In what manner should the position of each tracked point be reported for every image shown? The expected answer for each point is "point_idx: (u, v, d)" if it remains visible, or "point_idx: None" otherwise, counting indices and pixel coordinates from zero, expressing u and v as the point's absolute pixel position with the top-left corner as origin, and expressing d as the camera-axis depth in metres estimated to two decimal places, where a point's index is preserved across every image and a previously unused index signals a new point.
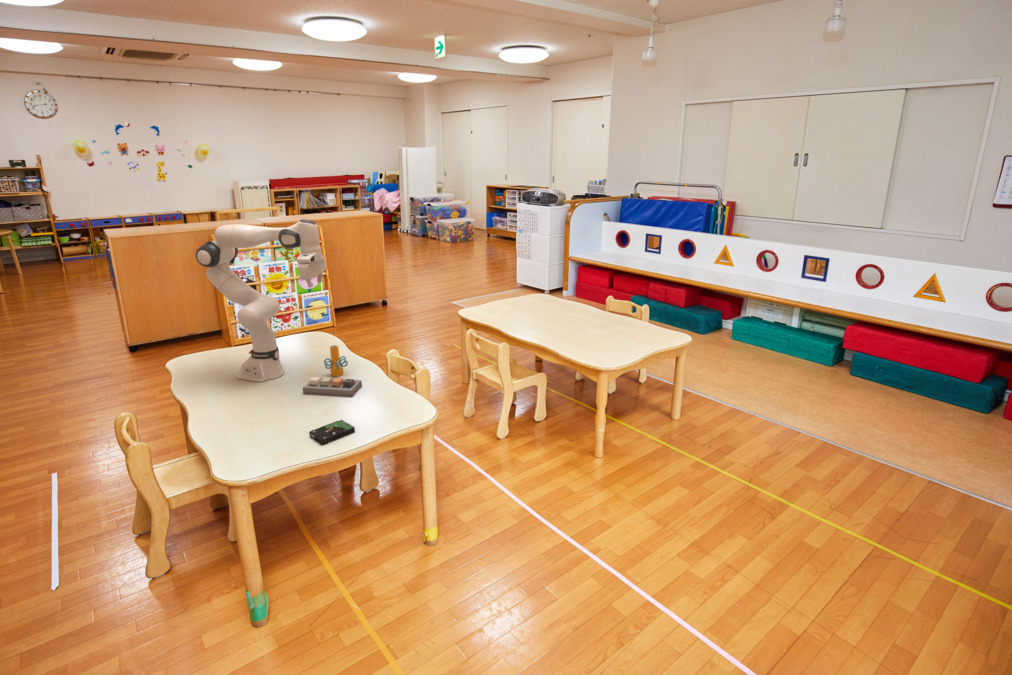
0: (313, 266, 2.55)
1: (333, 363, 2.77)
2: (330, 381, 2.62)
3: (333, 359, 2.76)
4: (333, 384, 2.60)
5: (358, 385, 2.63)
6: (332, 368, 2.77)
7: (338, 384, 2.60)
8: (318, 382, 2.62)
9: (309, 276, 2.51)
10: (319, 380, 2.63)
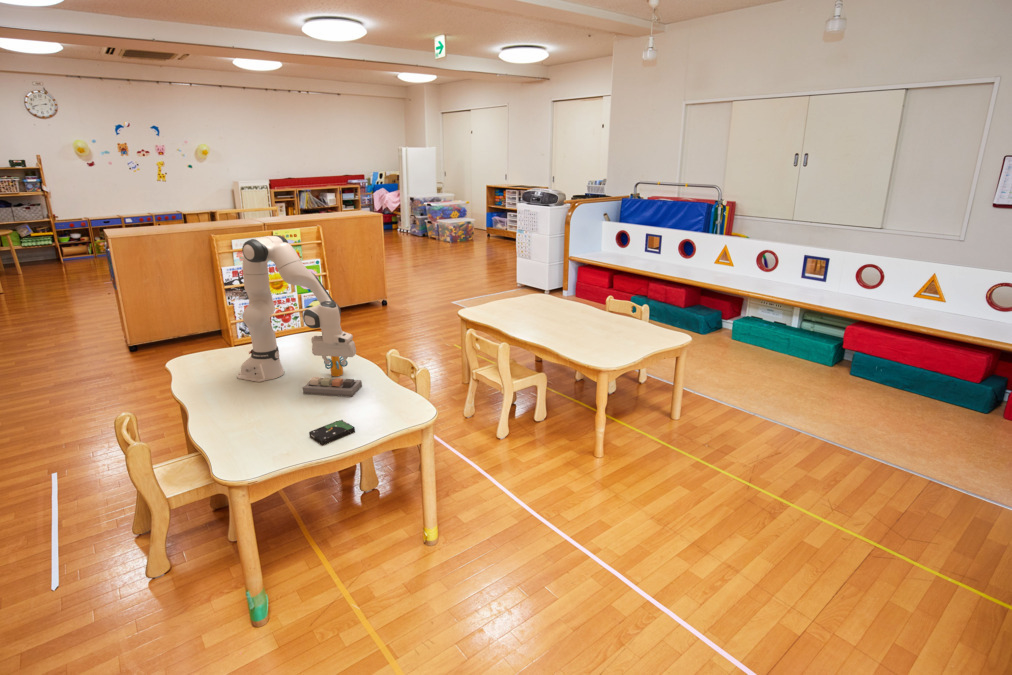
0: None
1: (333, 363, 2.77)
2: (330, 381, 2.62)
3: (333, 359, 2.76)
4: (333, 384, 2.60)
5: (358, 385, 2.63)
6: (332, 368, 2.77)
7: (338, 384, 2.60)
8: (318, 382, 2.62)
9: None
10: (319, 380, 2.63)
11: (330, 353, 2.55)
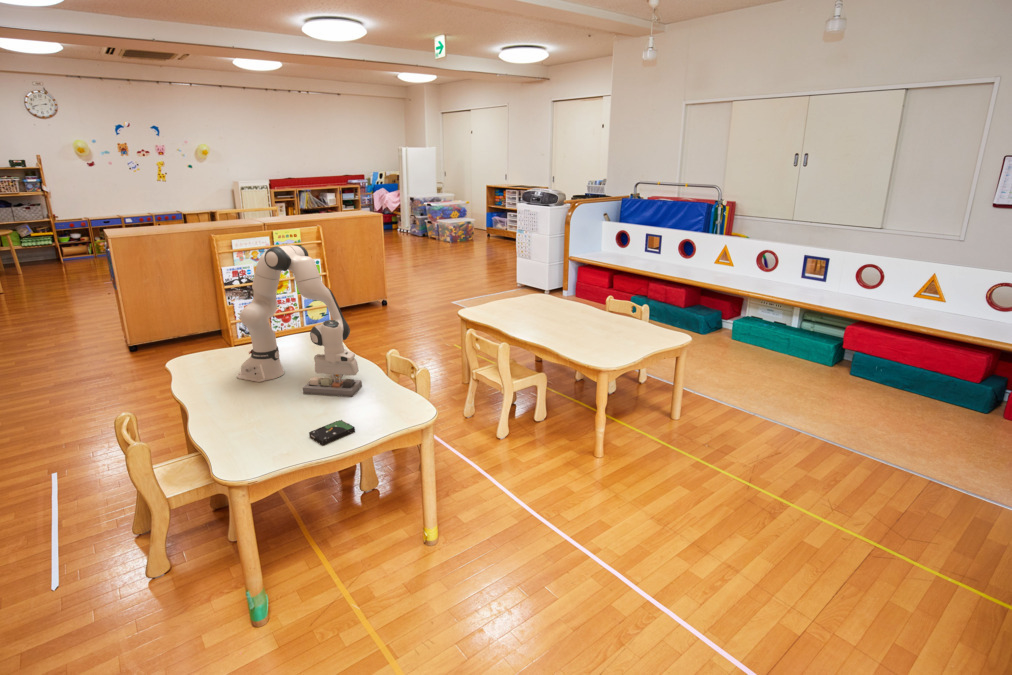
0: None
1: None
2: (330, 381, 2.62)
3: None
4: None
5: (358, 385, 2.63)
6: None
7: (338, 387, 2.60)
8: (318, 382, 2.62)
9: None
10: (319, 380, 2.63)
11: (333, 371, 2.58)
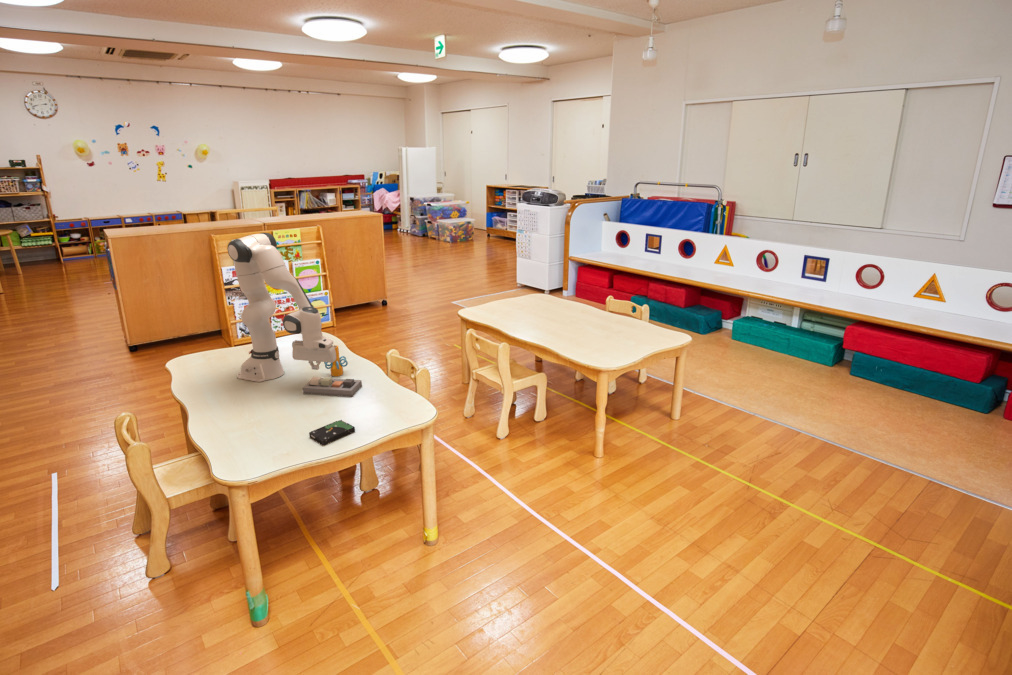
0: None
1: (333, 363, 2.77)
2: (330, 381, 2.62)
3: None
4: None
5: (358, 385, 2.63)
6: (332, 368, 2.77)
7: (338, 387, 2.60)
8: (318, 382, 2.62)
9: None
10: (319, 380, 2.63)
11: (310, 358, 2.58)
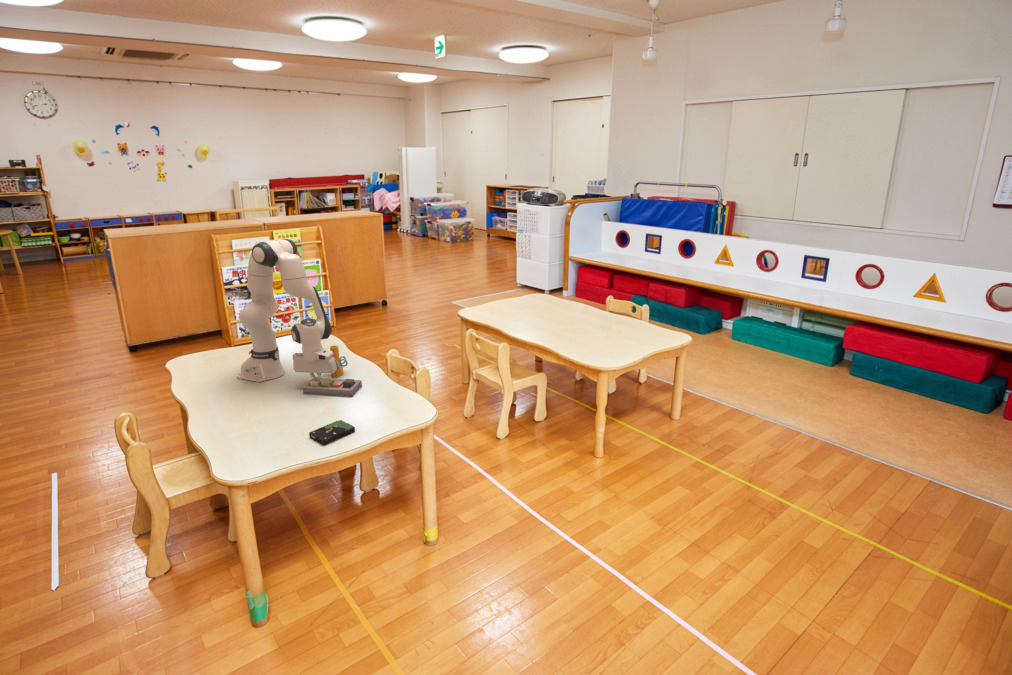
0: None
1: None
2: (330, 381, 2.62)
3: None
4: None
5: (358, 385, 2.63)
6: None
7: (338, 387, 2.60)
8: (318, 384, 2.63)
9: None
10: (319, 382, 2.64)
11: (311, 370, 2.60)
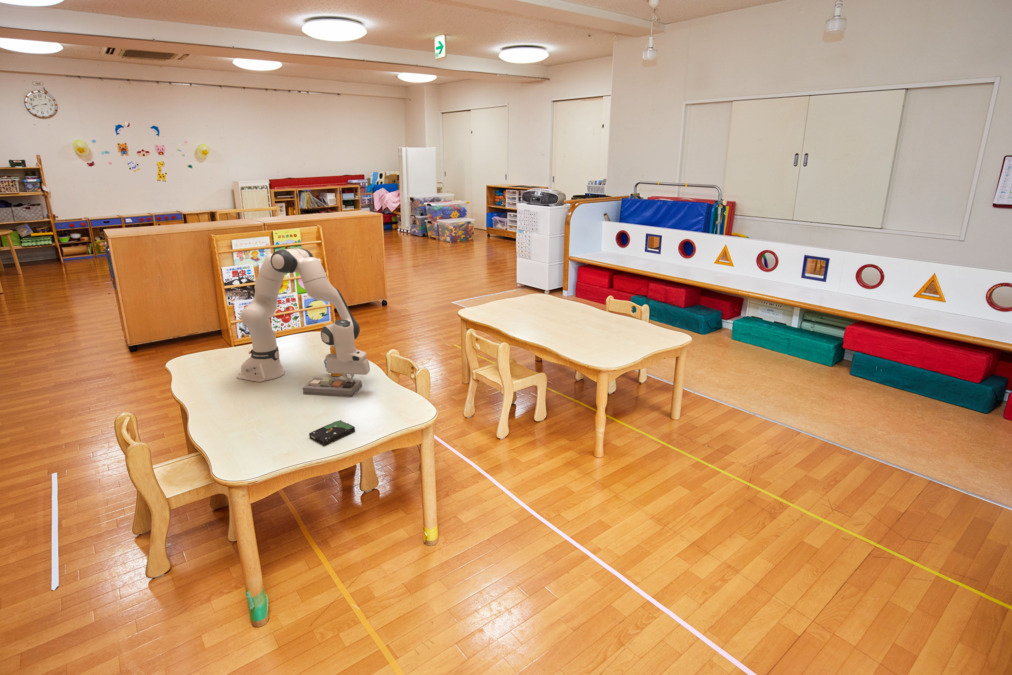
0: None
1: None
2: (330, 381, 2.62)
3: None
4: None
5: (358, 385, 2.63)
6: None
7: (338, 387, 2.60)
8: None
9: None
10: (319, 383, 2.64)
11: (344, 371, 2.58)
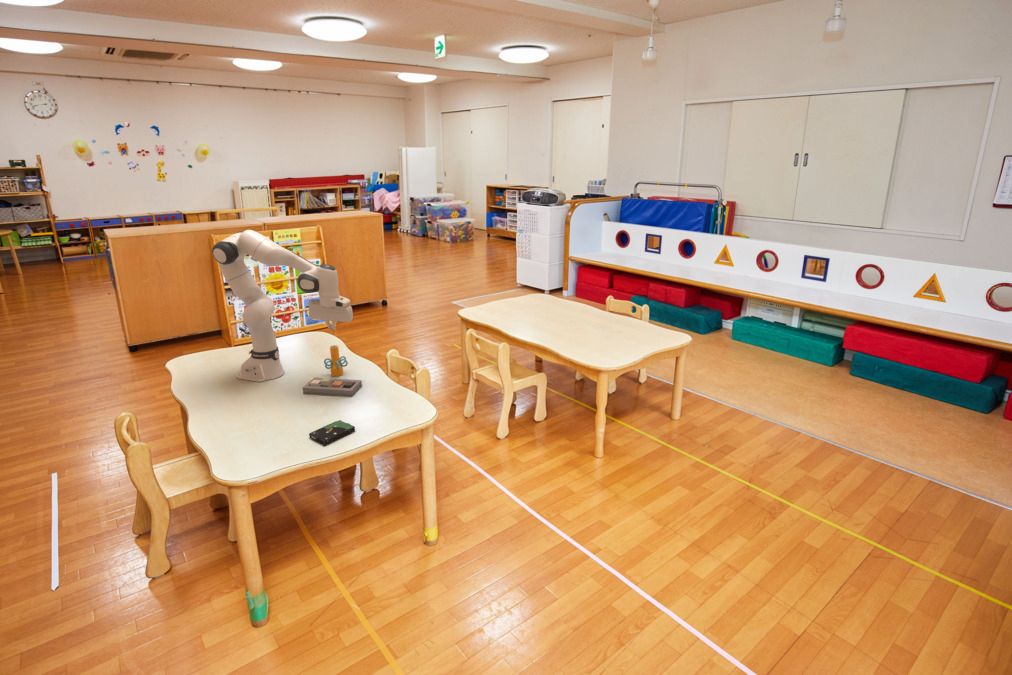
0: None
1: (333, 363, 2.77)
2: (330, 381, 2.62)
3: (333, 359, 2.76)
4: None
5: (358, 385, 2.63)
6: (332, 368, 2.77)
7: (338, 387, 2.60)
8: None
9: None
10: (319, 383, 2.64)
11: (327, 317, 2.53)
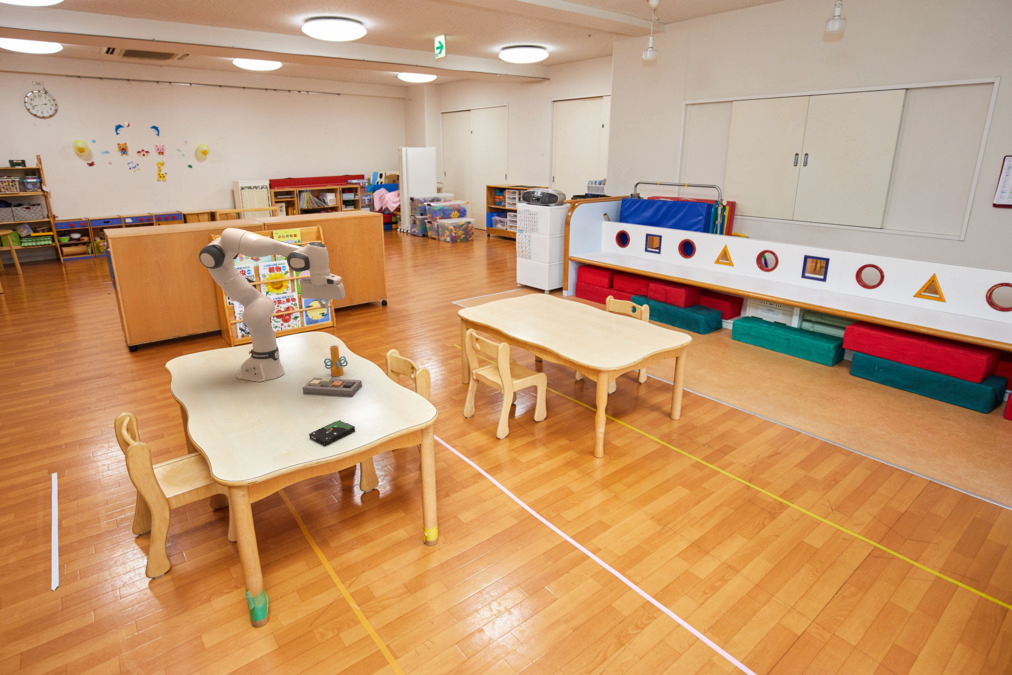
0: None
1: (333, 363, 2.77)
2: (330, 381, 2.62)
3: (333, 359, 2.76)
4: None
5: (358, 385, 2.63)
6: (332, 368, 2.77)
7: (338, 387, 2.60)
8: None
9: None
10: (319, 383, 2.64)
11: (319, 296, 2.52)
